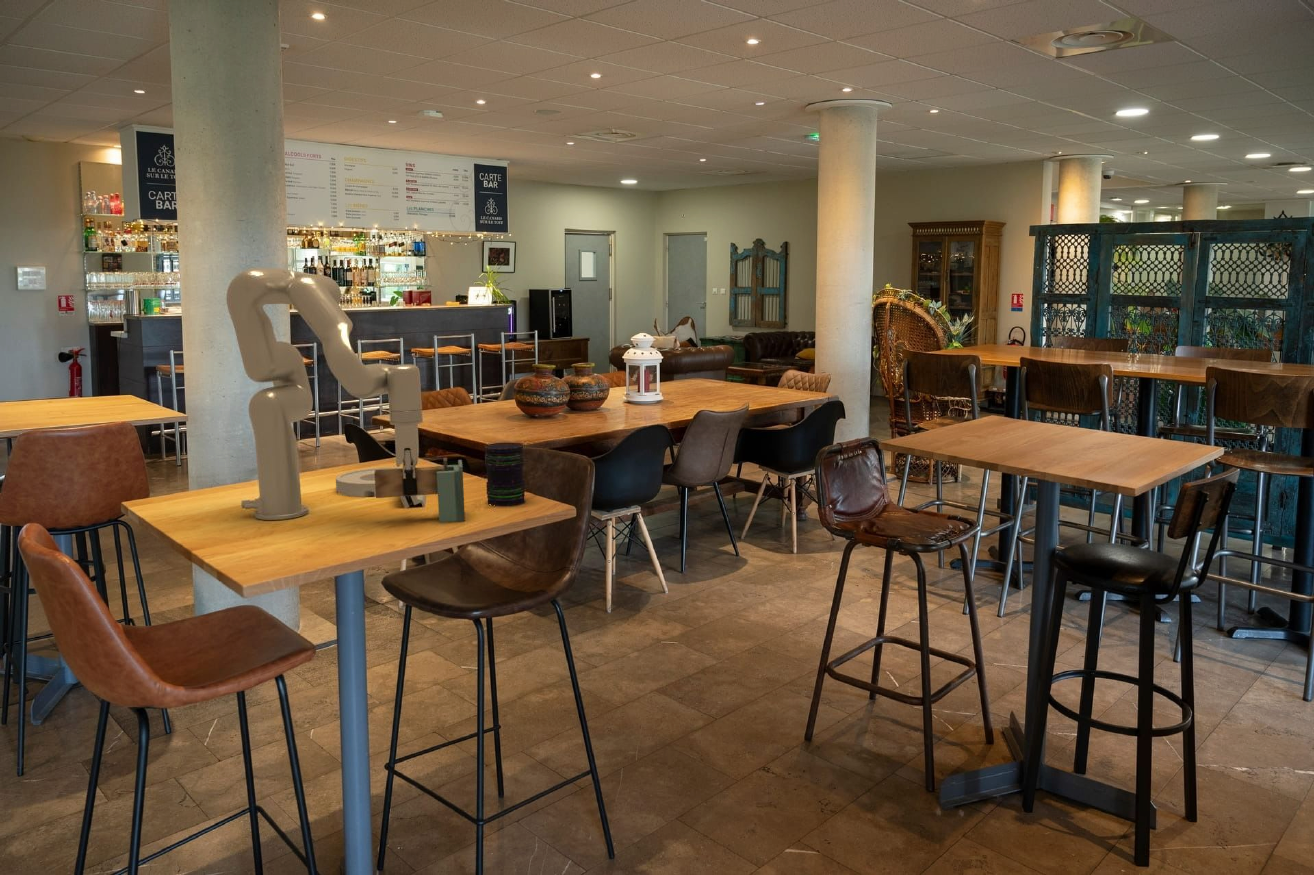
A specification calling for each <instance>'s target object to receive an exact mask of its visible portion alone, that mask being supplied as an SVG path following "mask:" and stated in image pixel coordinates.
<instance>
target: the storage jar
mask: <svg viewBox="0 0 1314 875" xmlns="http://www.w3.org/2000/svg"><path fill="white" fill-rule="evenodd" d="M484 450H485V452H484V453H485V455H484V459H485V460H484V461H485V464H484V465H485V468H486V477H487V478H486V479H487V480H486V485H485V487H486V489H485V490H486V498H487V502H488V504H491V505H495V506H494V507H496V506H509V507H516V506H520V505H523V504H525V503H526V500H525V496H526V487H525V486H526V483H525V480H524V466H525V462H524V460H525V455H524V444H523V443H519V442H496V443H488V444H486V445H484ZM488 504H487V505H488Z"/></svg>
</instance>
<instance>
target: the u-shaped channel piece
mask: <svg viewBox="0 0 1314 875" xmlns="http://www.w3.org/2000/svg"><path fill="white" fill-rule="evenodd" d="M457 463H458V464H449V465H448V464H447V470H448V471H437V488H438V494H437V506H438V523H439V524H441V523H442V524H443V523H453V522H455V523H456V522H465V521H466V520H465V519H466V517H465V516H466V514H465V512H466V511H465V497H464V496H465V495H464V494H465V493H464V492H465V491H464V473H463V472H464V470H463V460H462V459H458V460H457Z"/></svg>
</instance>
